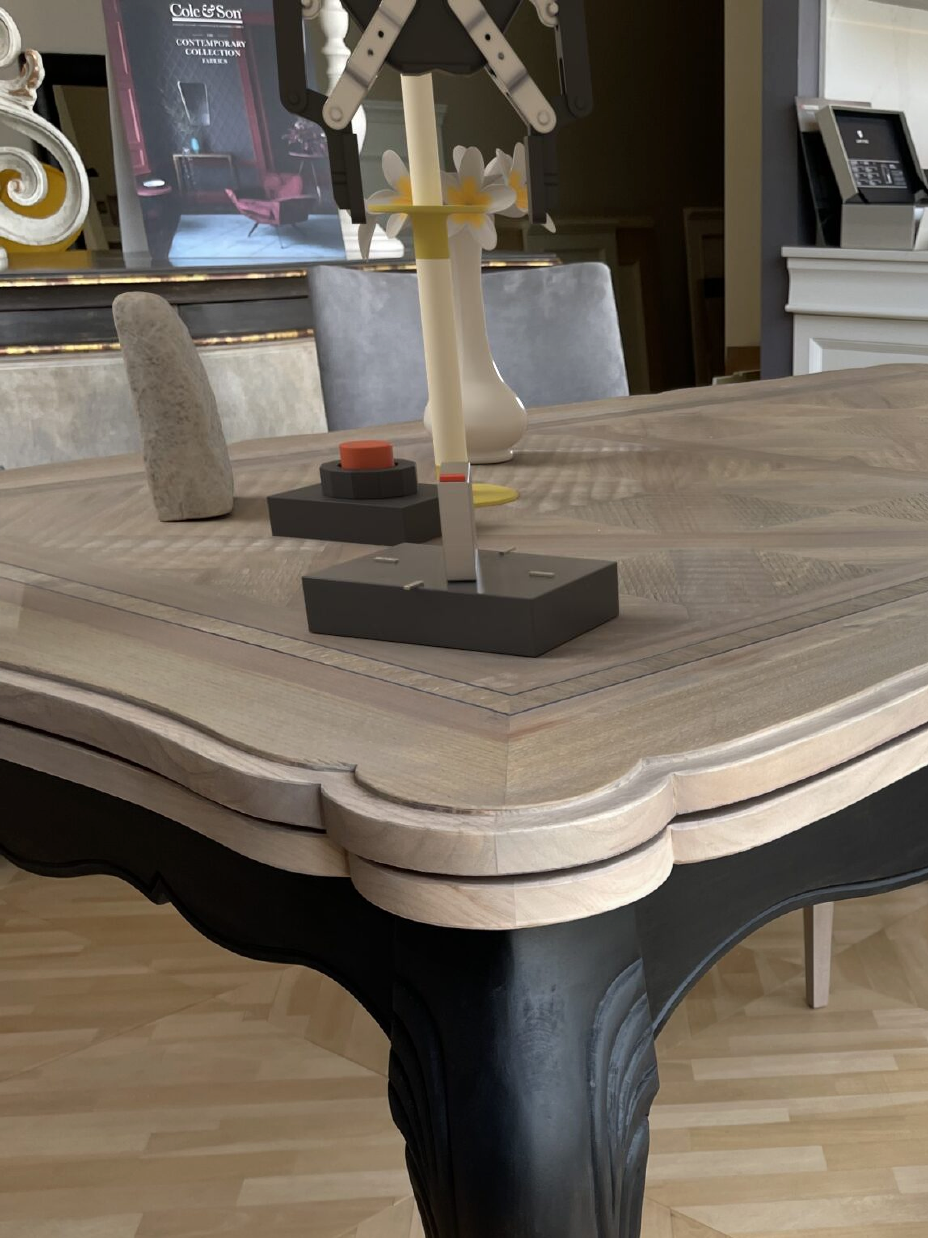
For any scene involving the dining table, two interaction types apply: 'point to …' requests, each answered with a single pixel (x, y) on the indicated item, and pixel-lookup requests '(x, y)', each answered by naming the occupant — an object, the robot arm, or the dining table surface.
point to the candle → (437, 283)
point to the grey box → (457, 521)
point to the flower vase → (468, 284)
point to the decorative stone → (173, 411)
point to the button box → (360, 507)
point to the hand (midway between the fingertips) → (449, 224)
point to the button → (366, 454)
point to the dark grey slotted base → (463, 599)
